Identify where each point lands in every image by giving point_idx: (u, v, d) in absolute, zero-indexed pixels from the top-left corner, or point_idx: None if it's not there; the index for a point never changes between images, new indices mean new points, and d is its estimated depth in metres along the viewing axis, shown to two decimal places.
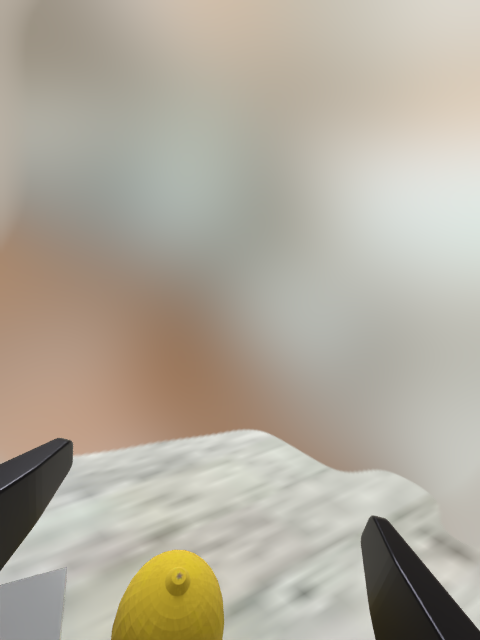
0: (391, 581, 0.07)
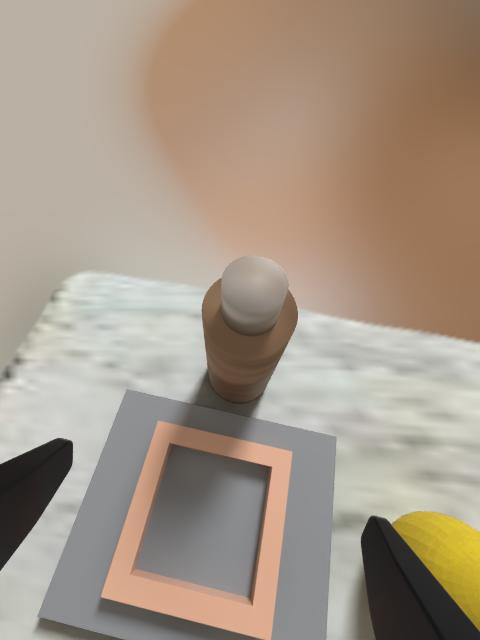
0: (391, 581, 0.07)
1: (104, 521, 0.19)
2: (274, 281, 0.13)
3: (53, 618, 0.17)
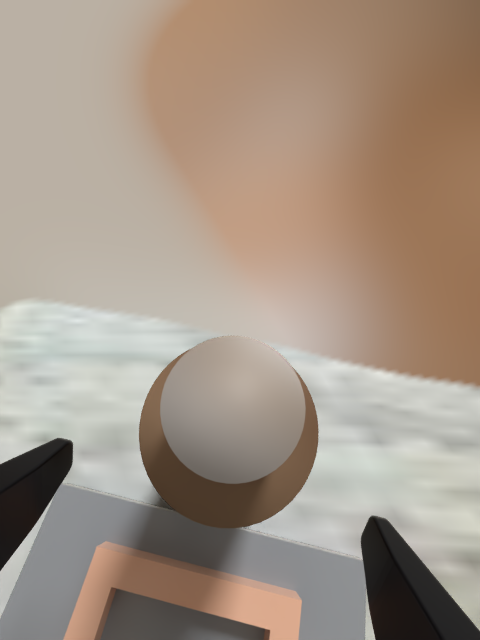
0: (391, 581, 0.07)
1: None
2: (274, 400, 0.06)
3: None
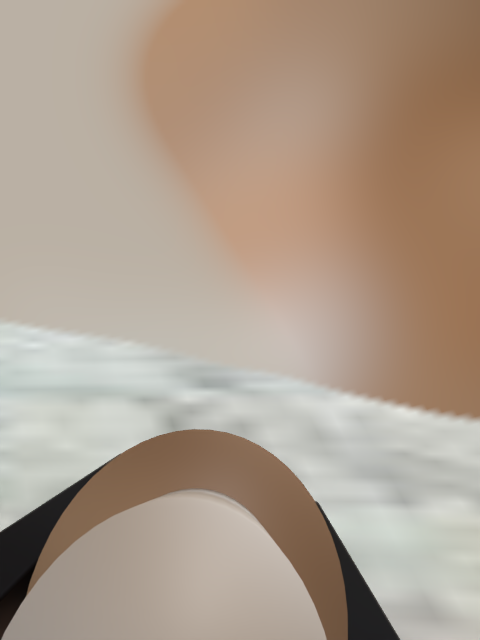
0: None
1: None
2: None
3: None
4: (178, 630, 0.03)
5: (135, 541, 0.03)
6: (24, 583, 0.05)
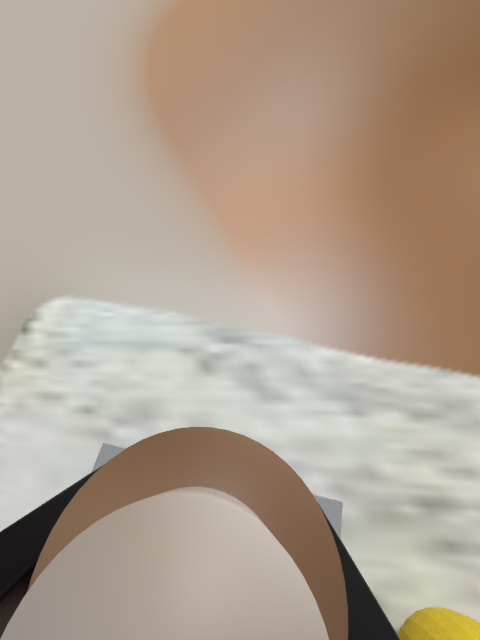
0: None
1: None
2: None
3: None
4: (179, 624, 0.03)
5: (136, 536, 0.03)
6: (24, 583, 0.05)
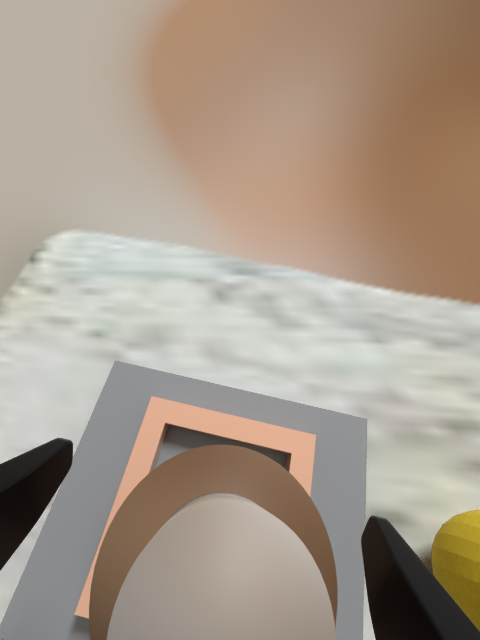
0: (391, 581, 0.07)
1: (84, 518, 0.15)
2: (288, 630, 0.04)
3: (15, 639, 0.13)
4: (232, 587, 0.04)
5: (200, 530, 0.04)
6: None
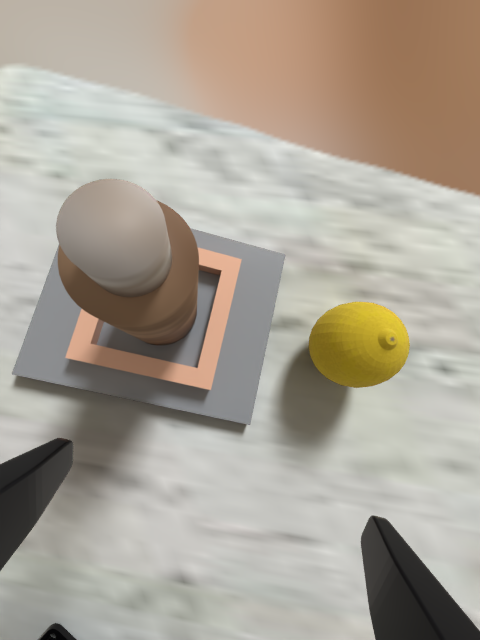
0: (391, 581, 0.07)
1: (64, 309, 0.20)
2: (143, 227, 0.09)
3: (26, 375, 0.19)
4: (117, 211, 0.09)
5: (101, 188, 0.09)
6: None
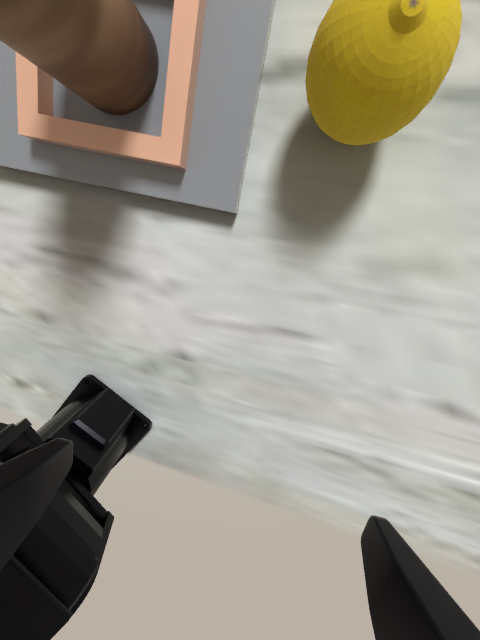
0: (391, 581, 0.07)
1: (8, 75, 0.17)
2: None
3: None
4: None
5: None
6: None
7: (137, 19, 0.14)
